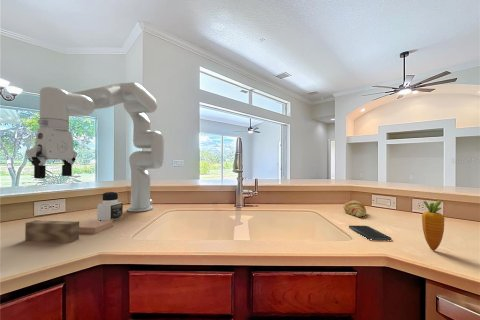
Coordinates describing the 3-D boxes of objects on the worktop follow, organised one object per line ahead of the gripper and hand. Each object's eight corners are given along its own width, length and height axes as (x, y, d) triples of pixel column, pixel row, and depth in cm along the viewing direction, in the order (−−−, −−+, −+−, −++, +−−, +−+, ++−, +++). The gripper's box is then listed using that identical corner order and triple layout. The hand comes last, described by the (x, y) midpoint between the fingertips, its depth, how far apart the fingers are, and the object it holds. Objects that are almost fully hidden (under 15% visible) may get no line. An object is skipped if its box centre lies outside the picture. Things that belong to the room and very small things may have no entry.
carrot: (417, 247, 66) (417, 198, 67) (432, 247, 67) (432, 198, 67) (433, 254, 61) (433, 201, 62) (449, 254, 62) (449, 201, 62)
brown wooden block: (78, 239, 72) (79, 221, 72) (71, 243, 69) (71, 224, 69) (34, 238, 73) (35, 220, 73) (25, 241, 70) (25, 222, 70)
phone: (369, 238, 72) (347, 225, 87) (369, 241, 72) (347, 228, 87) (393, 238, 72) (367, 225, 87) (393, 242, 72) (367, 228, 87)
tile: (74, 227, 78) (95, 227, 77) (93, 220, 87) (112, 220, 86) (74, 234, 78) (95, 235, 77) (93, 226, 87) (112, 227, 86)
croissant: (367, 226, 101) (376, 211, 100) (346, 215, 103) (355, 200, 102) (354, 214, 121) (362, 202, 120) (337, 205, 123) (344, 193, 123)
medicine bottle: (110, 221, 93) (111, 193, 94) (96, 220, 95) (97, 193, 95) (122, 217, 100) (123, 191, 101) (109, 216, 102) (110, 190, 102)
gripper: (39, 121, 64) (38, 179, 64) (85, 129, 81) (85, 175, 81) (15, 121, 64) (15, 179, 64) (66, 129, 82) (66, 175, 81)
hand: (54, 177), depth 73 cm, fingers open, 9 cm apart
